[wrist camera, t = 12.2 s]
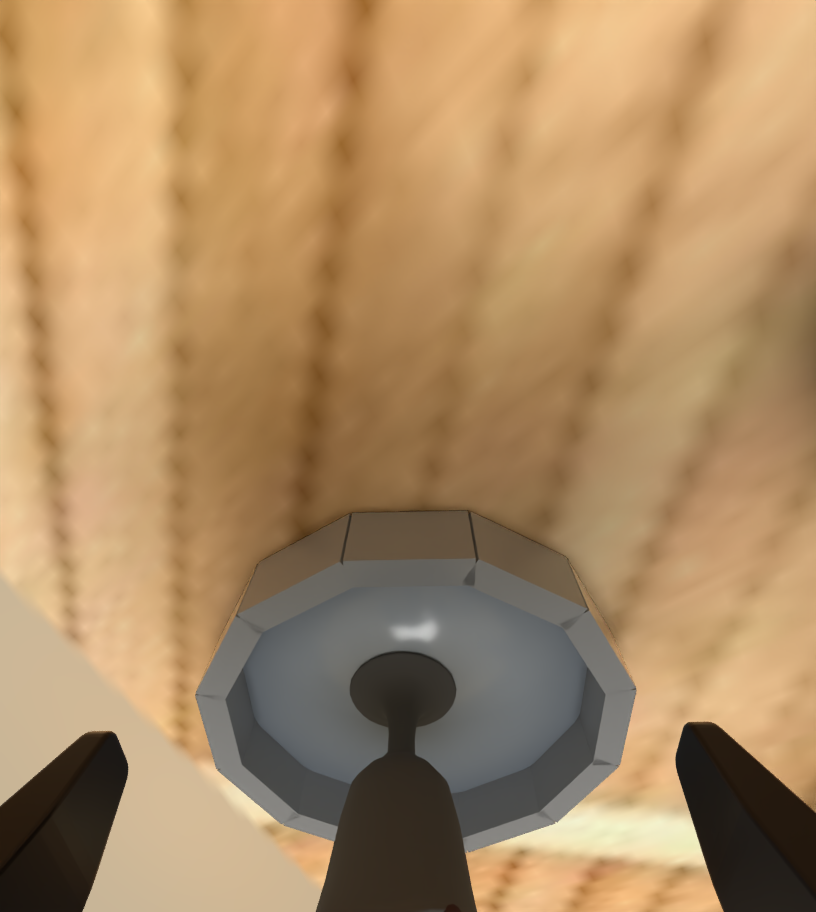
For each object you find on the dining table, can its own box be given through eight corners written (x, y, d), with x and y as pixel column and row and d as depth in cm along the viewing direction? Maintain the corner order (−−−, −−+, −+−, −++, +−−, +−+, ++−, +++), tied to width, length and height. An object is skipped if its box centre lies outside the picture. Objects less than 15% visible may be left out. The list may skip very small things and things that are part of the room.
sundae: (357, 748, 27) (299, 1312, 13) (311, 652, 24) (177, 1244, 10) (487, 726, 26) (566, 1303, 12) (456, 623, 23) (513, 1227, 10)
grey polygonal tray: (632, 507, 22) (666, 554, 19) (582, 787, 29) (600, 851, 27) (190, 516, 22) (157, 564, 19) (257, 790, 30) (240, 853, 27)
